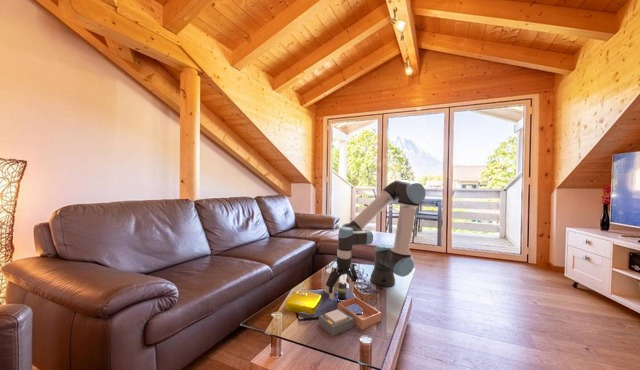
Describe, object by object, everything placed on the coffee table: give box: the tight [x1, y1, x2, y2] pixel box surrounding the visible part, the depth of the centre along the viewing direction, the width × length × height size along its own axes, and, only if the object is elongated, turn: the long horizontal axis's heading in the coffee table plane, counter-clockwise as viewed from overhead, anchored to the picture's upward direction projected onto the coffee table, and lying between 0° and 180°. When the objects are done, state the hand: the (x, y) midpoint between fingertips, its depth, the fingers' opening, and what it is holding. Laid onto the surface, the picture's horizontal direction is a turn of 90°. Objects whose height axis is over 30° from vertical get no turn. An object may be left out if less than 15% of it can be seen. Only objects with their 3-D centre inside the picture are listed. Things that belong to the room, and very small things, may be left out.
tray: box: [336, 296, 382, 331], centre depth 134 cm, size 12×17×4 cm
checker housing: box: [318, 309, 354, 337], centre depth 126 cm, size 12×10×5 cm
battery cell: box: [337, 281, 348, 300], centre depth 149 cm, size 4×4×10 cm
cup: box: [324, 267, 341, 293], centre depth 158 cm, size 8×8×12 cm
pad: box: [324, 309, 348, 325], centre depth 126 cm, size 7×7×3 cm
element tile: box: [285, 289, 322, 314], centre depth 142 cm, size 15×15×5 cm
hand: (341, 295), depth 149 cm, fingers open, 13 cm apart
